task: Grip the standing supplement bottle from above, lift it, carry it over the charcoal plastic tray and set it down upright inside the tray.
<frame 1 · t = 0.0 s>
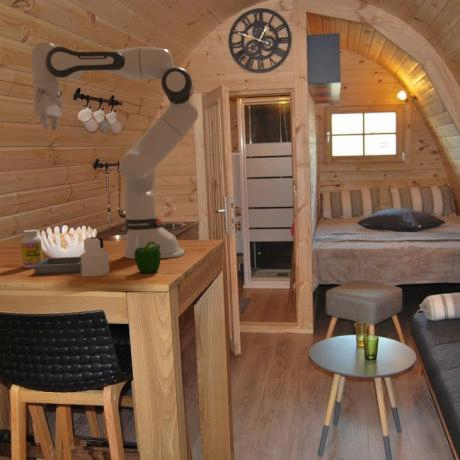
hand: (50, 129, 201), 48 cm above the countertop, tool pointing down, fingers open, 8 cm apart
tray: (63, 269, 188), on the countertop
supplement bottle: (33, 266, 196), on the countertop
medicine bottle: (96, 274, 179), on the countertop
bell pepper: (148, 272, 179), on the countertop
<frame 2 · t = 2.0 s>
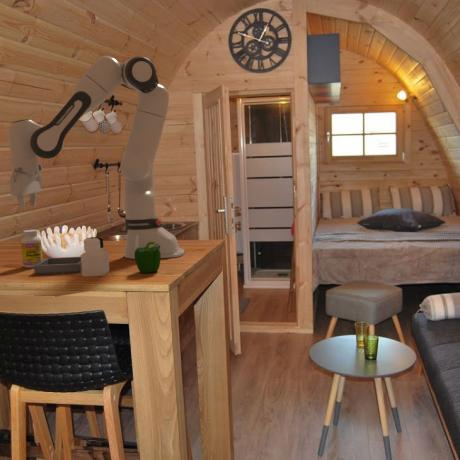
hand: (28, 207, 193), 21 cm above the countertop, tool pointing down, fingers open, 8 cm apart
nothing on the countertop moved.
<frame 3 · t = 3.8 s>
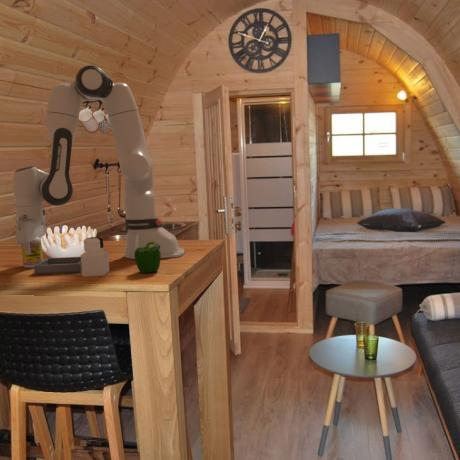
hand: (33, 252, 195), 5 cm above the countertop, tool pointing down, fingers open, 8 cm apart
supplement bottle: (33, 266, 196), on the countertop, touching gripper
everything else where it was.
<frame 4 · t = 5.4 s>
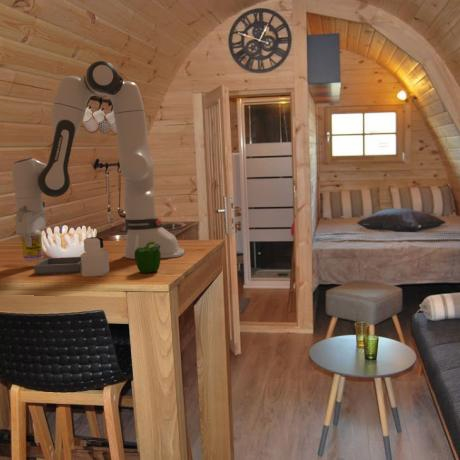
hand: (33, 244, 195), 8 cm above the countertop, tool pointing down, fingers closed on supplement bottle, 7 cm apart
supplement bottle: (33, 259, 196), point 2 cm above the countertop, touching gripper
everything else where it was.
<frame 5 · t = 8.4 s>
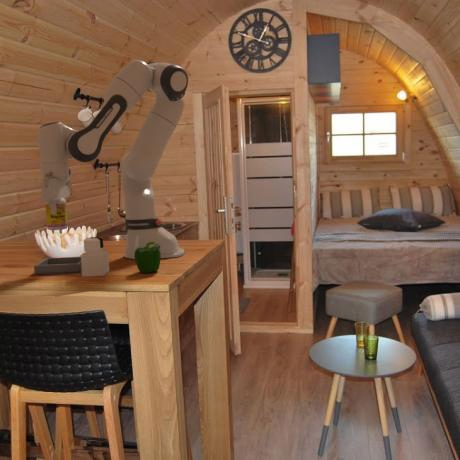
hand: (58, 213, 186), 19 cm above the countertop, tool pointing down, fingers closed on supplement bottle, 7 cm apart
supplement bottle: (57, 229, 186), point 14 cm above the countertop, touching gripper
everything else where it was.
when the fingers open (7 cm above the countertop, at t = 11.4 s): supplement bottle drops 1 cm, resting on tray.
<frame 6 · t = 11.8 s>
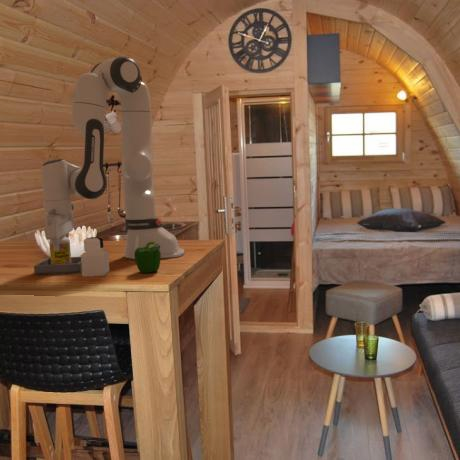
hand: (61, 248, 187), 7 cm above the countertop, tool pointing down, fingers open, 8 cm apart
supplement bottle: (61, 268, 188), resting on tray
everything else where it was.
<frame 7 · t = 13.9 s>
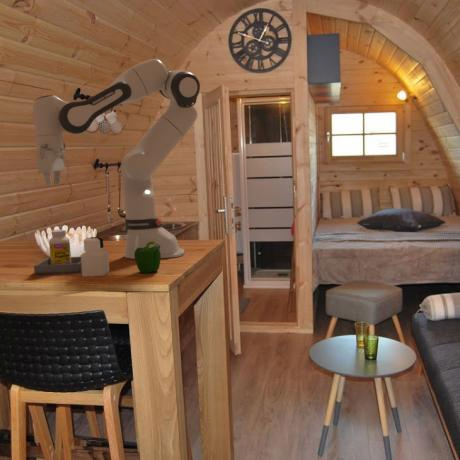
hand: (53, 185, 190), 29 cm above the countertop, tool pointing down, fingers open, 8 cm apart
nothing on the countertop moved.
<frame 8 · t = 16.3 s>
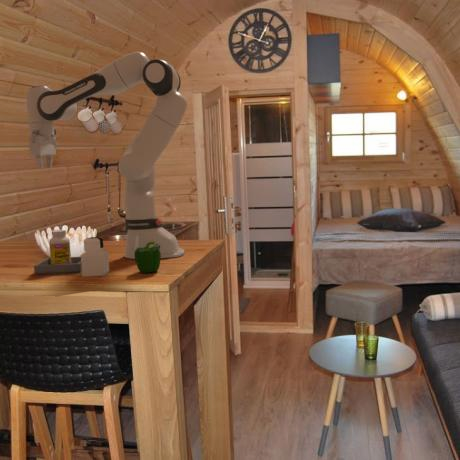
hand: (44, 168, 209), 34 cm above the countertop, tool pointing down, fingers open, 8 cm apart
nothing on the countertop moved.
at the end: supplement bottle 0.5 cm off-centre on the tray, point 0.4 cm above the tray's base; supplement bottle tilted 0°; the gripper is holding nothing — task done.
